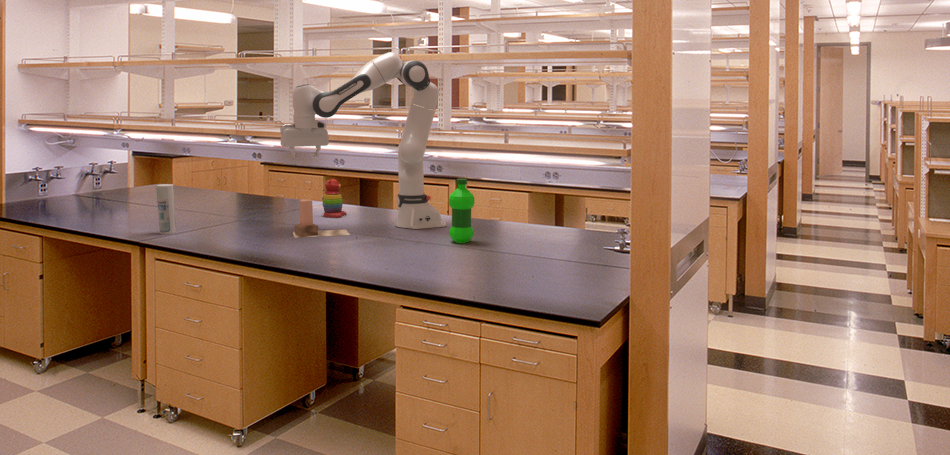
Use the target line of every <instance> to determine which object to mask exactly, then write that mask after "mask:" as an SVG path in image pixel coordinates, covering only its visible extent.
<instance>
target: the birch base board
mask: <svg viewBox="0 0 950 455" xmlns="http://www.w3.org/2000/svg"><path fill="white" fill-rule="evenodd" d="M292 234H293V237H294V238H295V239H297V238H302V237H301V236H298V235H296V234H295V231H292ZM333 236H334V237H336V236H339V237H340V236H351V234H350V232H349V231H348V230H347V229H330V230H329V229H326V230H318V235H315V236H306V237H305V238H316V237H333Z"/></svg>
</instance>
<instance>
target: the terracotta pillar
mask: <svg viewBox="0 0 950 455" xmlns="http://www.w3.org/2000/svg"><path fill="white" fill-rule="evenodd" d="M298 212H299V213H298V215H299V216H298V218H299V219H298V220H299V224H300V225H302V226H310V225H313V224H314V218H313V217H314V213H313V200H311V199H299V200H298Z"/></svg>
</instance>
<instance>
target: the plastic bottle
mask: <svg viewBox="0 0 950 455" xmlns="http://www.w3.org/2000/svg"><path fill="white" fill-rule="evenodd" d="M467 184H468V178H457V179H456V185H457V188H456V189H455V190H454V191H453V192H452V193H450V194H449V196H448V205H449V207H450V208H451V226H450V229H449V238H451V240H452V241H454V243H457V244H466V242H467V243H468V242H470V241H471V240H472V238H473V236H474V228H473V227H472V209H473V207H474V206H475V196H474V194H473V193H472V192H471V191H470V190H469V189H468V188H467Z"/></svg>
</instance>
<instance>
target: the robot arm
mask: <svg viewBox="0 0 950 455" xmlns="http://www.w3.org/2000/svg"><path fill="white" fill-rule="evenodd" d="M394 79H397V80H399V82H400V83H402V85H404V86H406V87H410V88H412V99H411V102H410V106H409V109H408V113H407V116H406V120H405V124H404V128H403V132H402V136H401V138H400V141H399V143H398V148H397V160H398V161H397V163H398V165H397V166H398V168H397V169H398V194H397V216H396V217H397V218H396V221H395V227H396V228H397V227H398V228H402V229H403V228H404V229H413V230H421V229H430V228H431V229H432V228H434V229H435V228H441V227H446V226H447V223H446V222H445V221H444V220H443V219H442V217H441V216H442V215H441V213H440V211H439V209H437V208H436V207H435V206H433V205H432V204H431V203H429V201H431V195H427V194H425V193H424V192H425V189H424V188H425V186H424V185H425V184H424V183H425V182H424V180H425V178H424V176H425V175H424V174H425V173H424V156H425V154H426V148H427V144H428V139H429V136H430V132H431V127H432V125H433V121H434V117H435V113H436V111H437V105H438V101H439V93H440V92H439V88H438V86H437V85H436V84H435V83H433V82H431V79H430V75H429V71H428V68H427V66H426V65H425V64H424V63H423V62H422V61H420V60H419V61H418V60H409V61H408V60H407V61H405V60H402V59H401V57H400V56H399V55H398V54H397V53H395V52H393V51H388V52H386V53H383V54H381V55H378V56H376V57H374V58H373V59H371V60H369V61H368V62H367V63H365V64H364V65H362V66H361V67H360V68H359V69H358V70H357V72H356V73H355V75H354V76H353V77H352V78H351V79H350V80H349V81H347V82H346V83H344V84H342V85H341V86H339V87H337V88H336V89H334V90H331V91H323V90H320V89H319V88H316V87H315V86H313V85H312V84H302V85H297V86H296V87H294V89H293V91H292V109H293V116H292V118H293V119H292V121H293V122H292V123H290V124H286V123H285V124H283V125H281V126H280V127H279V129H280V130H279V131H280V146H281V147H283V148H289V151H290V153H291V155H292V156H291V158H292V159H293V158H294V159H296V158H298V153H296V152H295V147H297V148H298V147H315V149H316V150H315V151H314V152H312V153H313V157H314V158H317V157H319V153H320V151H321V147H322V146H323V147H324V146H326V147H327V146H328V145H329V142H330V140H329V138H330V137H329V132H328V130H327V123H326V122H322V121H319V120H316V115H317V116H319V117H321V118H323V119H324V118H325V119H327V118H331V117H333V116H334V115H335V114H337V112H338V110H340V108H341V106H342V105H343V104H345V103H346V102H348V101H349V100H352V98H354V97H356V96H358V95H359V94H362V93H365V92H369V91H372V90H376V89H377V88H379V87H382V86H383V85H385V84H387V83H388V82H390V81H392V80H394Z"/></svg>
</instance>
